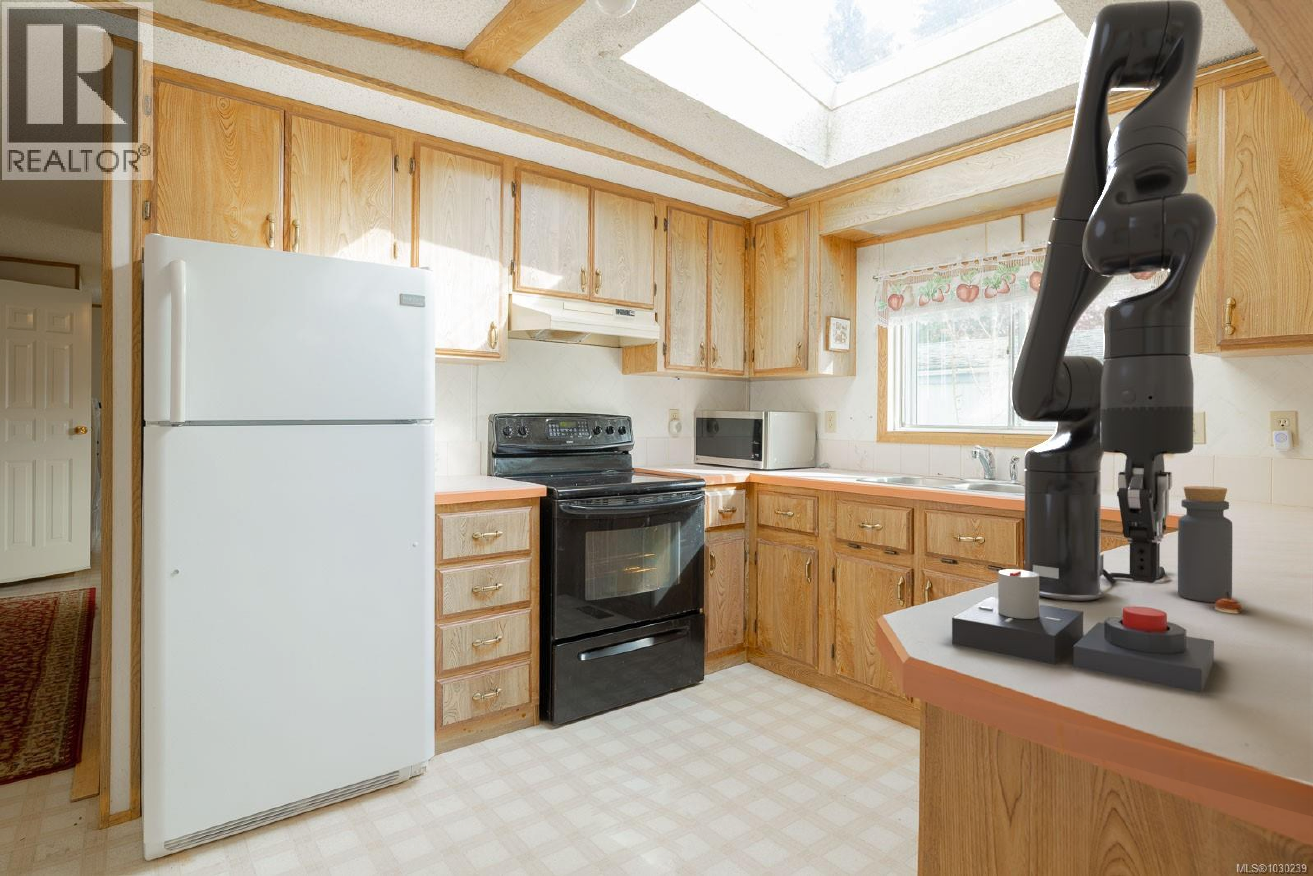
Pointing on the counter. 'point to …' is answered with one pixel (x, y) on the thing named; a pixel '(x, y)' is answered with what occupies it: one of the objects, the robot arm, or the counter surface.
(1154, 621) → the power button
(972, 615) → the panel
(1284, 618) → the counter surface
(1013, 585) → the timer knob
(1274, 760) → the counter surface
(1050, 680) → the counter surface
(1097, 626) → the power block
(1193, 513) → the bottle
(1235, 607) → the reddish brown rounded piece
